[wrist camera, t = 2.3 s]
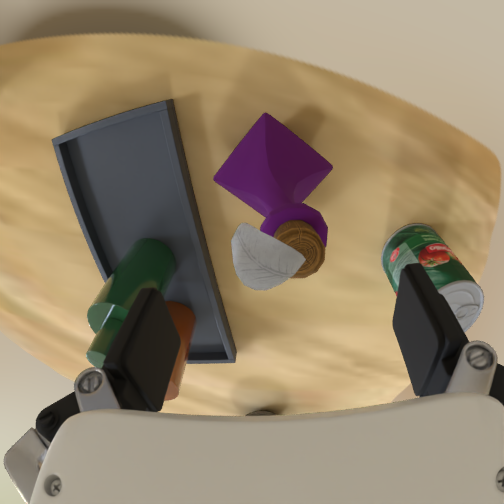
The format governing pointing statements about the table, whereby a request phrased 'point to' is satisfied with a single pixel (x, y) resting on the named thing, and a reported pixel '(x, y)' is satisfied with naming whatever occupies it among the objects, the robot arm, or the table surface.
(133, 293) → the green bottle
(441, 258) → the canned tomato
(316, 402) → the table surface
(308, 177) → the perfume bottle
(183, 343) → the amber bottle
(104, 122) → the tray
